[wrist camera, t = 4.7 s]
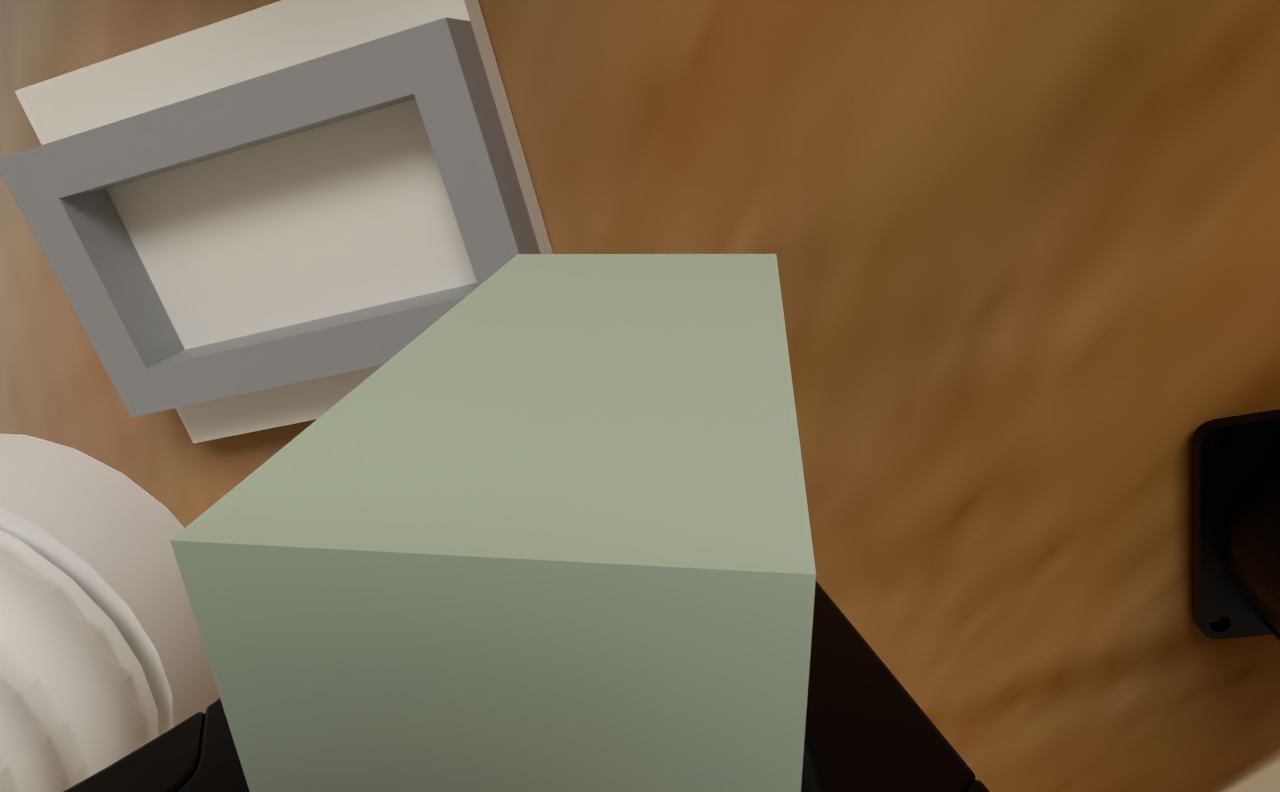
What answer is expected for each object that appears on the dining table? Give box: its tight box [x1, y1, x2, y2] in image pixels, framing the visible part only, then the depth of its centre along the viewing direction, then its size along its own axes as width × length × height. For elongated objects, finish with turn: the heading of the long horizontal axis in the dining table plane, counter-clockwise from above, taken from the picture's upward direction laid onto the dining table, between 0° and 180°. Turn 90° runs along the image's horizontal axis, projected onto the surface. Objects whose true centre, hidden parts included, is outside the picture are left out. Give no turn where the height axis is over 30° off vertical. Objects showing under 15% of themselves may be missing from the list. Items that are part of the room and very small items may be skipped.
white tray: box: [0, 0, 553, 443], centre depth 20 cm, size 10×12×2 cm
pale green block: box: [170, 254, 816, 792], centre depth 8 cm, size 7×3×6 cm, turn 2°
